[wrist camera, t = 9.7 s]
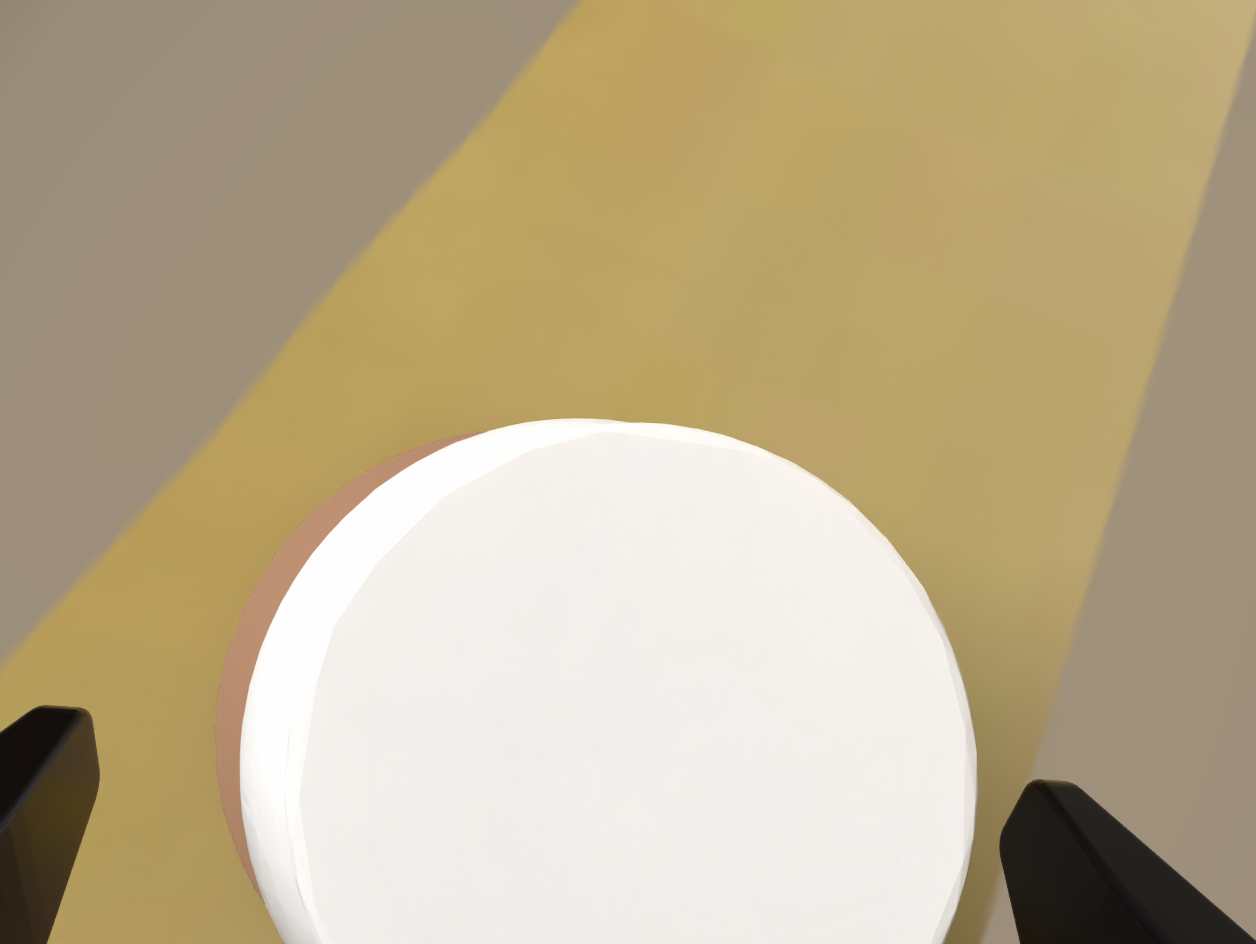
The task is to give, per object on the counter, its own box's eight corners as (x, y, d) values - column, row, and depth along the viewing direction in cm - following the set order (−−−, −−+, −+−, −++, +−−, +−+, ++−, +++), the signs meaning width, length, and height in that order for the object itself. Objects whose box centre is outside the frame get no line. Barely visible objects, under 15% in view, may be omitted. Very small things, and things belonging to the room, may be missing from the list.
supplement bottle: (462, 482, 20) (475, 114, 7) (754, 647, 20) (1241, 557, 8) (271, 800, 18) (-141, 1020, 6) (595, 976, 18) (893, 1563, 6)
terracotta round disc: (771, 1020, 20) (791, 1040, 18) (182, 1000, 18) (163, 1021, 17) (792, 474, 22) (811, 461, 21) (278, 415, 21) (267, 398, 19)
